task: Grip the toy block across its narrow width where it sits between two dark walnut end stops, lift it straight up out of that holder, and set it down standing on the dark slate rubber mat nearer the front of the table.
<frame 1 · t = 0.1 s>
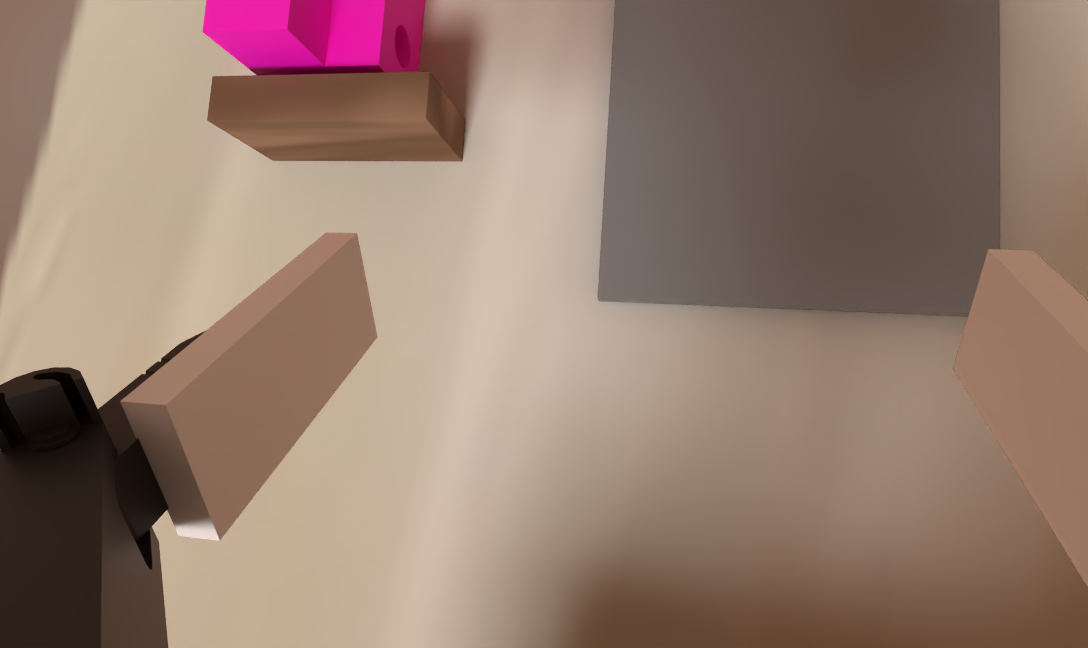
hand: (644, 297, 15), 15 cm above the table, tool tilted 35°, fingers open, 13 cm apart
slate mat: (792, 64, 30), on the table
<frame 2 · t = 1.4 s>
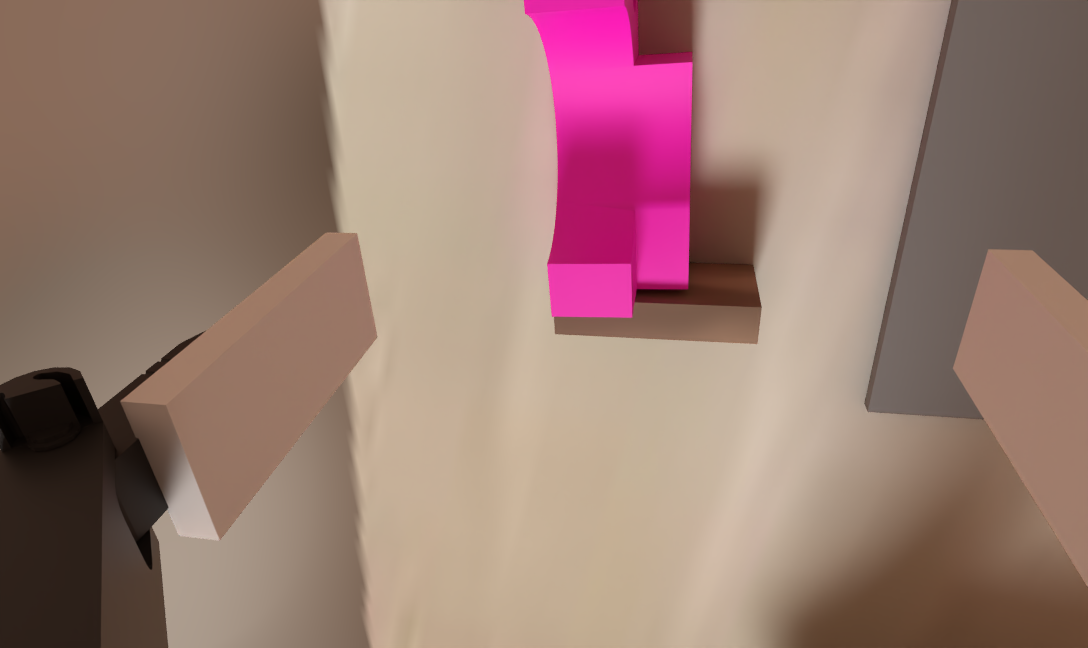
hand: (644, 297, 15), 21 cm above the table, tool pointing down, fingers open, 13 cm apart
slate mat: (1085, 225, 32), on the table
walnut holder: (663, 102, 33), on the table
toy block: (627, 114, 34), on the table
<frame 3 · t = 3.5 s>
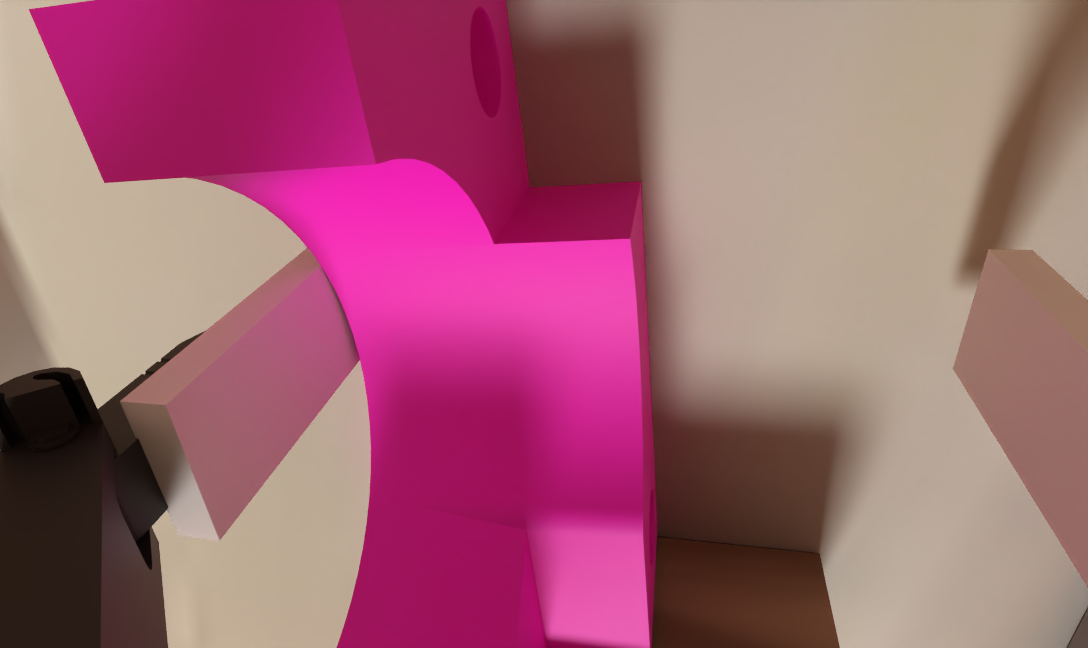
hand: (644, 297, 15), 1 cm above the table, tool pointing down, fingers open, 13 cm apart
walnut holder: (648, 273, 16), on the table
toy block: (523, 291, 17), on the table
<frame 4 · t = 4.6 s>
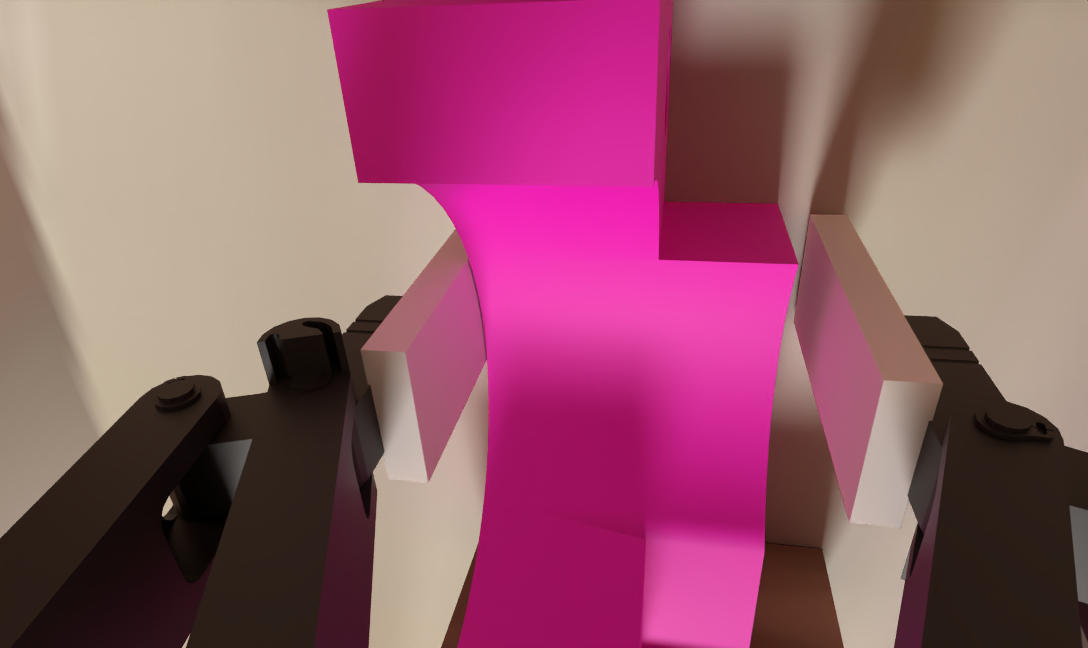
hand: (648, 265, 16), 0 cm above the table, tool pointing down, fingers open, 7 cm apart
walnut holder: (658, 275, 16), on the table
toy block: (635, 302, 17), on the table, touching gripper
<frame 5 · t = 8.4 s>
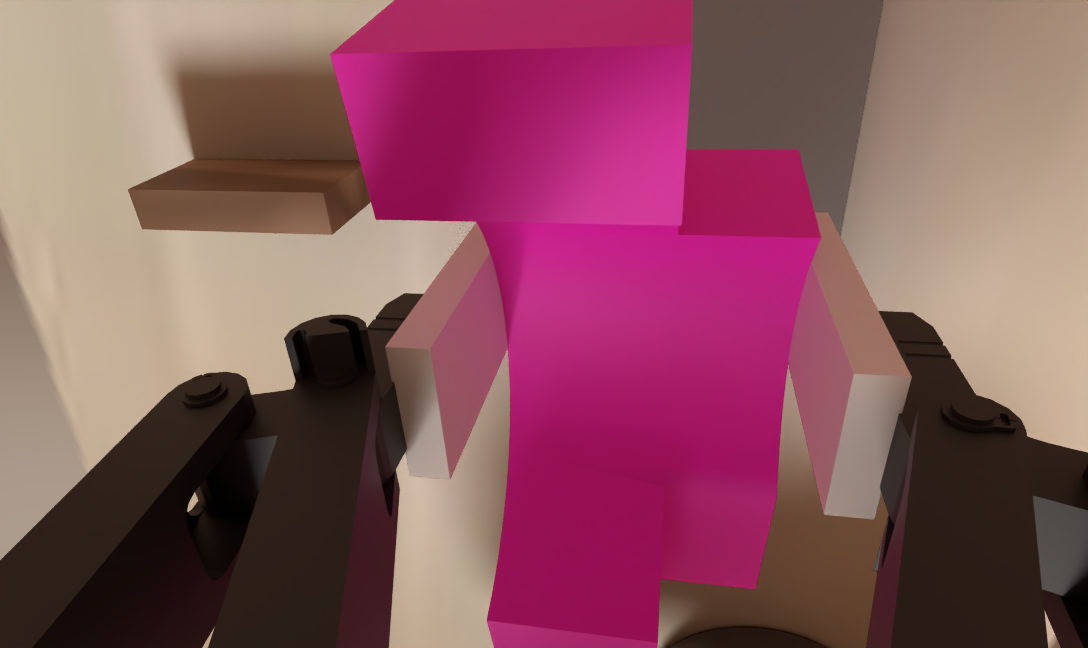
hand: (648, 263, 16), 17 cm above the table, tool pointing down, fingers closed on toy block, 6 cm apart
slate mat: (669, 108, 30), on the table
toy block: (650, 249, 17), point 16 cm above the table, touching gripper
when the fingers open (2 cm above the table, at t = 11.9 s): toy block stays where it is, resting on slate mat.
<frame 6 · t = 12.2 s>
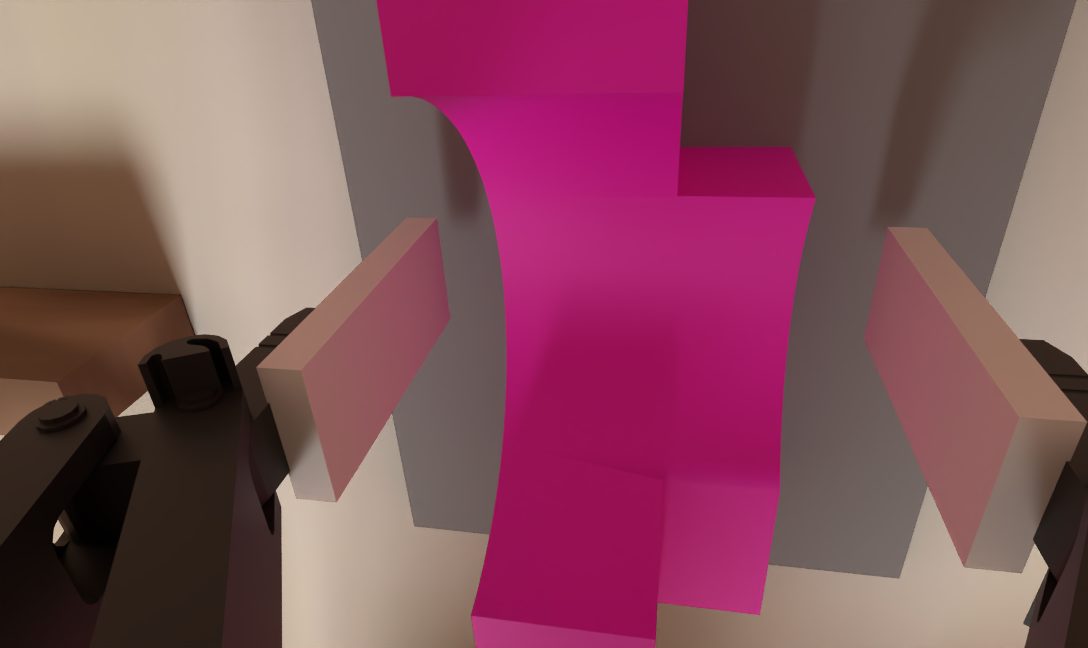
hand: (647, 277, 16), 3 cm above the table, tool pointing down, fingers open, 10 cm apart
slate mat: (652, 233, 18), on the table
toy block: (649, 253, 17), point 1 cm above the table, touching slate mat
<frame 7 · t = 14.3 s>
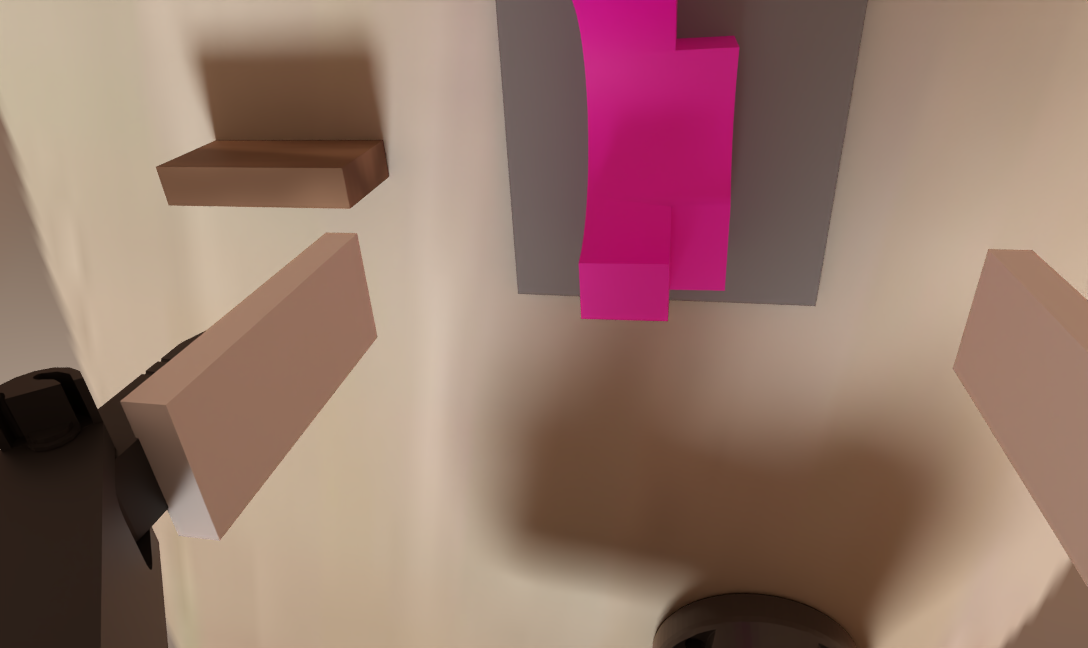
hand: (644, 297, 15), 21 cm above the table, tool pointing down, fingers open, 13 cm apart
slate mat: (670, 87, 32), on the table
toy block: (661, 103, 32), point 1 cm above the table, touching slate mat
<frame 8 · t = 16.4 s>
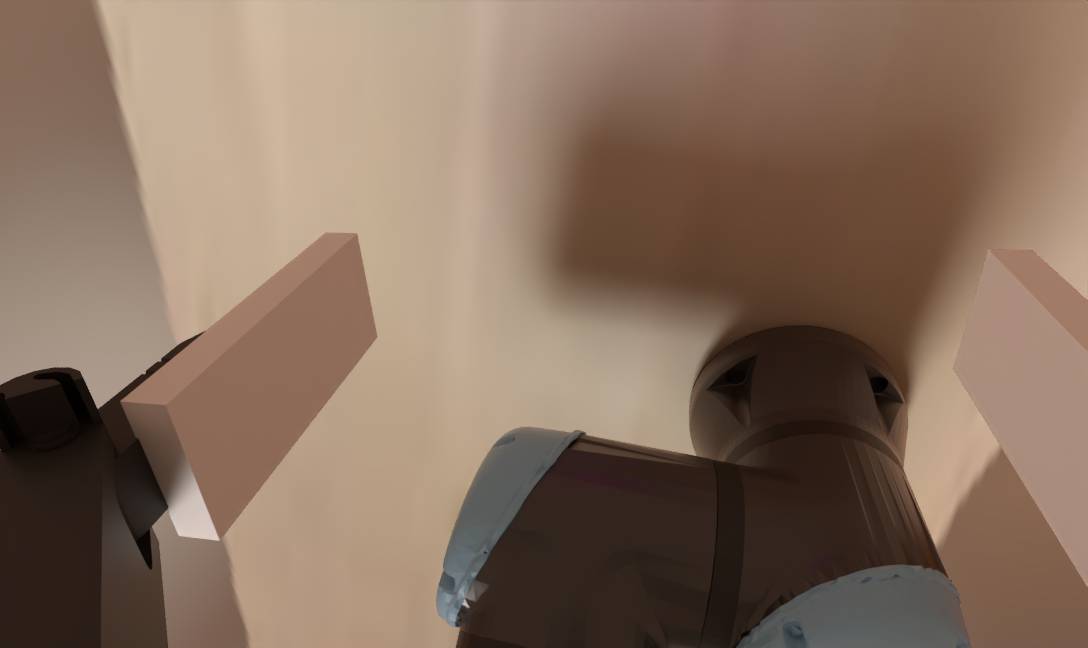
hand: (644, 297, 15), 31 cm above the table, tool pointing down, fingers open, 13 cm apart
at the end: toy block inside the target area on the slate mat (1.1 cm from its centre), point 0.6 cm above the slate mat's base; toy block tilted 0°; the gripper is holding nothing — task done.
